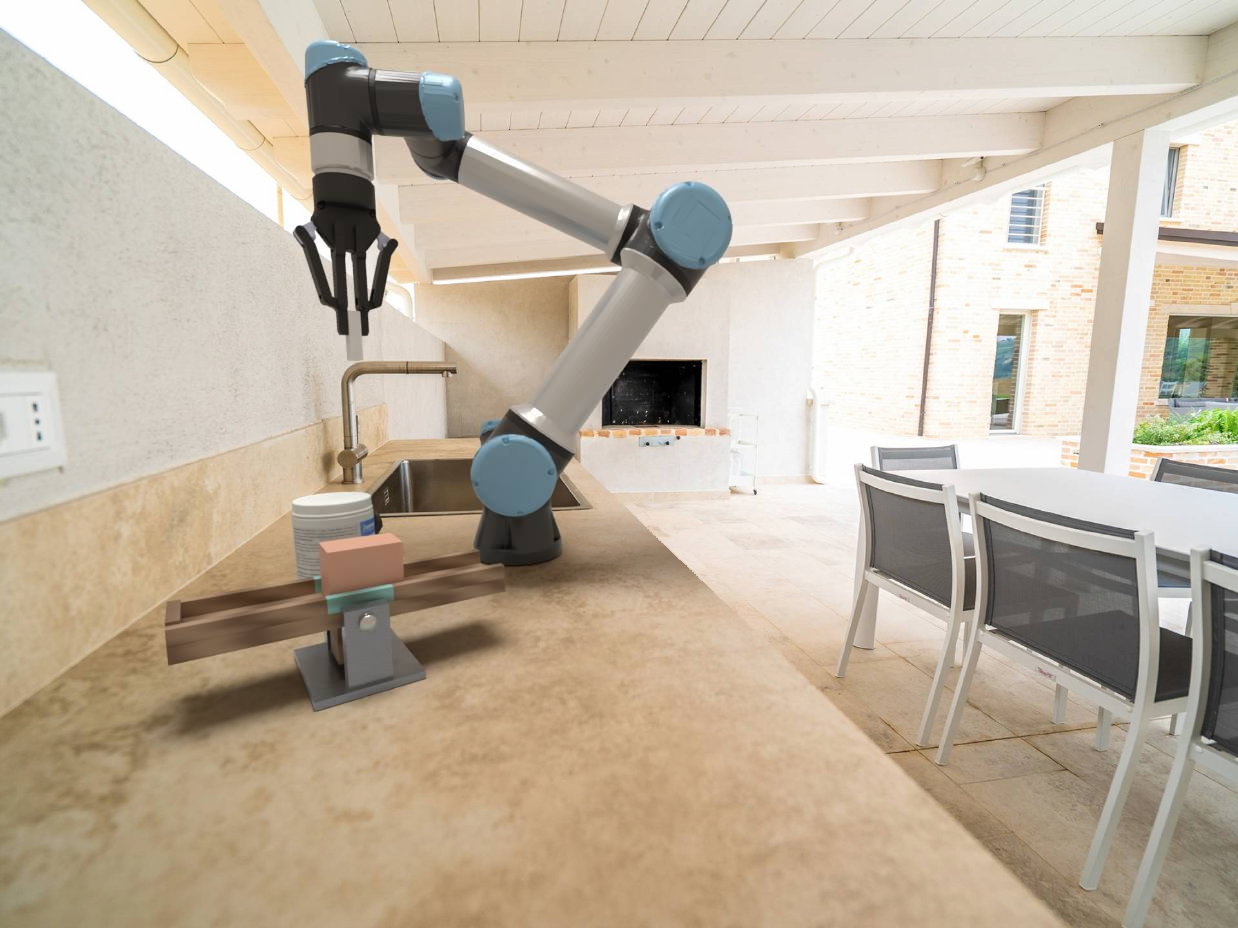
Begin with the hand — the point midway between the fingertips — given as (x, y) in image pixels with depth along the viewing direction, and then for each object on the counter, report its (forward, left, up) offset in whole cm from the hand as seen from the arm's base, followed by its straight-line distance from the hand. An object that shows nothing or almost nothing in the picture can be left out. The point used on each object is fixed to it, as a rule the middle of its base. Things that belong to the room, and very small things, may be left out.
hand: (355, 360), depth 80 cm
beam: (+7, +25, -31) cm, 40 cm away
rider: (+6, +25, -25) cm, 36 cm away
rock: (-3, -28, -33) cm, 43 cm away
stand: (+7, +25, -32) cm, 42 cm away
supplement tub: (+5, +6, -33) cm, 34 cm away
